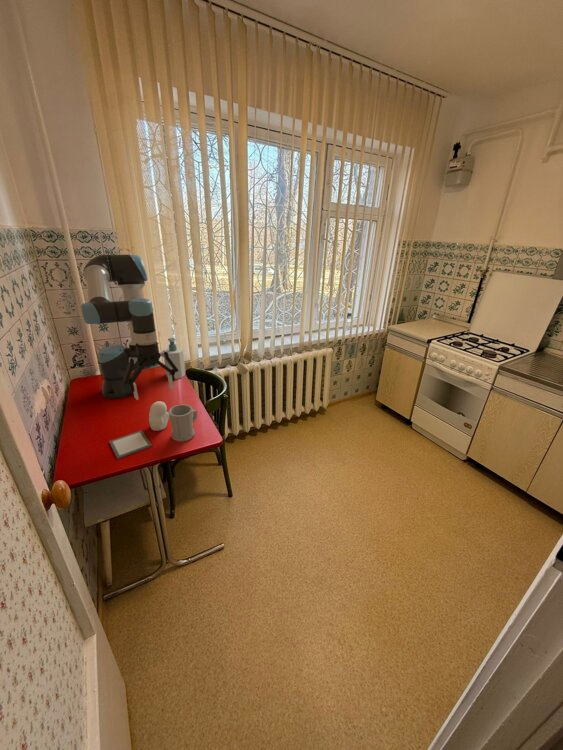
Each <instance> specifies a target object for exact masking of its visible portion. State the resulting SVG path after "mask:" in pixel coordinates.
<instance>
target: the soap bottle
mask: <svg viewBox="0 0 563 750" xmlns="http://www.w3.org/2000/svg"><path fill="white" fill-rule="evenodd" d="M167 340H168V342H169V344H168V347H167V348H166V349H164V350H165V351H166V352H167V353H168V356H169V358H170V359H171V361H172V362H173V363H174V365H175V366H176V367H177V369H178V372H175V375H174V378H175V380H177V379H182V378H183V377H184V376H185V375H186V367H185V358H184V349H183V348H180V347H179V346H178V347H177V344H176V343H175V341H176V338H175V337H168V339H167ZM163 359H164V360H163V361H164V365H165V366H167V367H168V368H169V369H171V370H172V369H173V368H172V367H171V366H170V364H169V363H168V362H167V360H166V359H165V358H164V357H163ZM167 373H169V372H168V371H167V370H165V374H166V377H167V378H168V374H167Z"/></svg>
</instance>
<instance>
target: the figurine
mask: <svg viewBox="0 0 563 750" xmlns="http://www.w3.org/2000/svg"><path fill="white" fill-rule="evenodd" d="M167 410H168V407H167V405H166V403H165V402H164V401H155V402H153V403H152V404H151V406H150V409H149V414H148V422H149V426H150V428H151V430H153V431H155V432H156V431H157V432H159V431H162V430H164V429H166V427H167V425H168V422H169V420H170V416H169V411H167Z"/></svg>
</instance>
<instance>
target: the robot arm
mask: <svg viewBox="0 0 563 750" xmlns="http://www.w3.org/2000/svg"><path fill="white" fill-rule="evenodd" d="M83 278H84V280H85V281H86V285H87V299H88V301H87V302H84V303H81V306H80V307H81V308H80V309H81V313H82V317H83V321H84V323H85V324H86V325H100V324H111V323H125V322H127V323H128V327H129V332H130V338H131V340H130V341H129V343H128V346H129V347H125V346H124V344H113V345H108V346H106V347H104V348H101V350H99V352H98V353H97V356H98V363H99V365H100V369H101V375H102V378H103V383H102V389H101V392H102V396H103V397H105V399H121V398H126V397H129V396H131V395H134V399H136V401H138V400H139V393H138V389H137V384H136V380H137V379H138V377H139V376H140V374H141V372H142V371H143V370H147V369H148V370H150V369H153V368H158V366H160V367H161V368H163V369H164V370H165V371H166V370H167V371H168V372H169V373H167V374H168V377H167V380H168V381H167V382H168V388H169V389H170V390H171V391H173V390H175V389H174V382H175V381H176V379H175V378H174V375H175V372H178V369H177V367H176V366H175V365H174V363H173V362H172V361H171V359H170V358H169V356H168V353H167V352H166V351H165V350H166V349H164V350H162V351H161V352H160V349H159V348H160V347H159V343H158V341H157V340H158V338H157V337H158V336H157V331H156V330H157V329H156V326H155V318H154V315H155V314H154V308H153V305H152V301H151V300H150V299H149V298H144V292H143V288H144V287H145V286H146V284H145V282H147V281H148V275H147V271H146V267H145V264H144V261H143V259H142V257H141V256H140V255H137V254H99V255H97V256H94V257H93V258H91V259H90V260H88V262H87V263H86V264H85V266H84V268H83ZM109 282H111V283H112V282H113V283H114V282H116V283H117V286H118V287H119V288H120V289H121V290H122V295H123V300H118V301H112V298H111V291H110V285H109ZM161 357H162V358H163V359H164V358H165V359H166V360H167V362H168V363H169V364H170V366H171V367H172V368H173V369H172V370H171V369H169V368H168V367H167V366H165V363H163V362H161V361H160V359H161Z"/></svg>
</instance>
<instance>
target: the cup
mask: <svg viewBox="0 0 563 750" xmlns="http://www.w3.org/2000/svg"><path fill="white" fill-rule="evenodd" d="M168 413H169V416H170V417H169V420H170V423H171V431H172V432H171V437H172V440H174V441H176V442H187V441H190V440H191V439H192V438H194V437H195V432H196V431H195V429H194V424H193V423H194V422H195V421H197V418H198V411H197V410H196V409H193V407H192V406H191V405H189V404H183V403H182V404H177V405H174V406H172V407H171V408H169V410H168Z"/></svg>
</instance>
